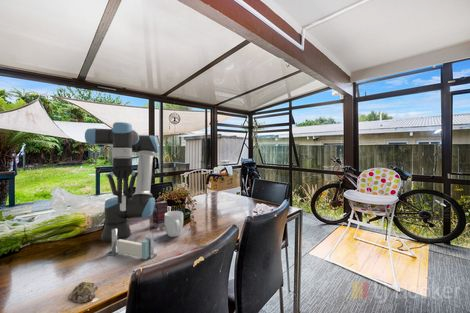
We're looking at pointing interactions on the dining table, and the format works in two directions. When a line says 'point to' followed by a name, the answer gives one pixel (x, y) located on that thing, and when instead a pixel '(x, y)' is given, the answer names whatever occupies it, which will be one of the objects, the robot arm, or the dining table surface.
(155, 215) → the supplement box
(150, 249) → the latch post
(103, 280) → the dining table surface
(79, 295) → the mineral rock
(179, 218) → the mug
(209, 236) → the dining table surface
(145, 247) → the gate
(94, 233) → the dining table surface
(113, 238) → the hinge post
